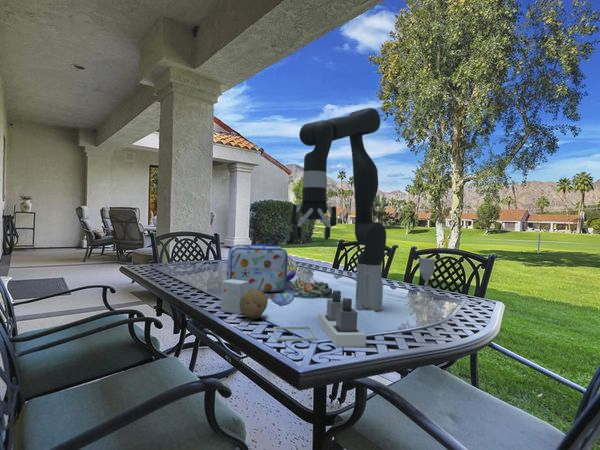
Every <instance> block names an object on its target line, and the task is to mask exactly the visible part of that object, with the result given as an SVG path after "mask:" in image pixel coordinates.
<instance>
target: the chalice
mask: <svg viewBox="0 0 600 450" xmlns="http://www.w3.org/2000/svg"><path fill="white" fill-rule="evenodd" d="M436 260H437V259H436V258H430V257H429V258H428V257H427V258H426V257H425V258H424V257H419V258H418V261H419V268H418V269H419V272H420V275H421V278H422V279H423V280H424V284H423V285H424V287H423V290H424V292H423V293H421V295H420V296H421V297H425V298H431V296H430V294H429V293H428V289H429V288H428V285H429V283H428V281H429V280H430V279H431V278H432V276H433V274H434V272H435V264H436V263H435V262H436Z"/></svg>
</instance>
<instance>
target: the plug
mask: <svg viewBox="0 0 600 450" xmlns="http://www.w3.org/2000/svg"><path fill="white" fill-rule="evenodd" d="M342 301H343V308H337V315H336V331H337V332H357V327H358V312H357V311H356V310H355V309H354V308H352V307H353V303H352V302H353V299H352V298H348V297H344V298H343V299H342Z"/></svg>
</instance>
